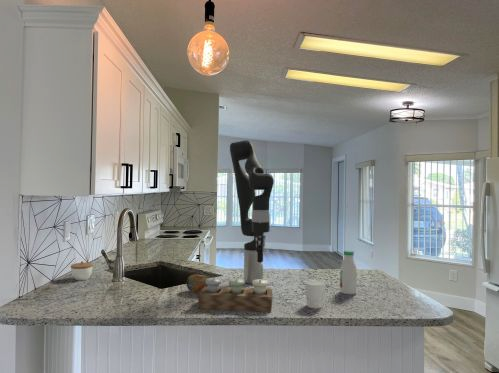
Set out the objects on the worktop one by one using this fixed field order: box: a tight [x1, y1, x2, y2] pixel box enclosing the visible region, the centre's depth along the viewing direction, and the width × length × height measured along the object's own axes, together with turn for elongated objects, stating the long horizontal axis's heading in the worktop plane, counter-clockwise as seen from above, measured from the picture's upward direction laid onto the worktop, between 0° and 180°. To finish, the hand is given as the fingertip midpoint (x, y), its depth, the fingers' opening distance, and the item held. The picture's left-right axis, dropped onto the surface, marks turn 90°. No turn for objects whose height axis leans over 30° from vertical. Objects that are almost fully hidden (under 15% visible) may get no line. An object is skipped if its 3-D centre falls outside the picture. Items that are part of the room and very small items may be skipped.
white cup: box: [305, 279, 326, 310], centre depth 156 cm, size 8×8×10 cm
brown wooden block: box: [197, 286, 273, 313], centre depth 155 cm, size 30×12×6 cm, turn 85°
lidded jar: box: [70, 260, 94, 281], centre depth 196 cm, size 11×11×9 cm
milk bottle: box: [339, 249, 358, 296], centre depth 176 cm, size 8×8×20 cm
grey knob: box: [206, 277, 222, 293], centre depth 156 cm, size 7×7×5 cm
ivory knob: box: [251, 279, 269, 295], centre depth 154 cm, size 7×7×5 cm
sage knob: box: [228, 278, 245, 294], centre depth 155 cm, size 7×7×5 cm
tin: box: [186, 273, 213, 294], centre depth 173 cm, size 15×3×8 cm, turn 62°
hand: (260, 261), depth 154 cm, fingers closed
